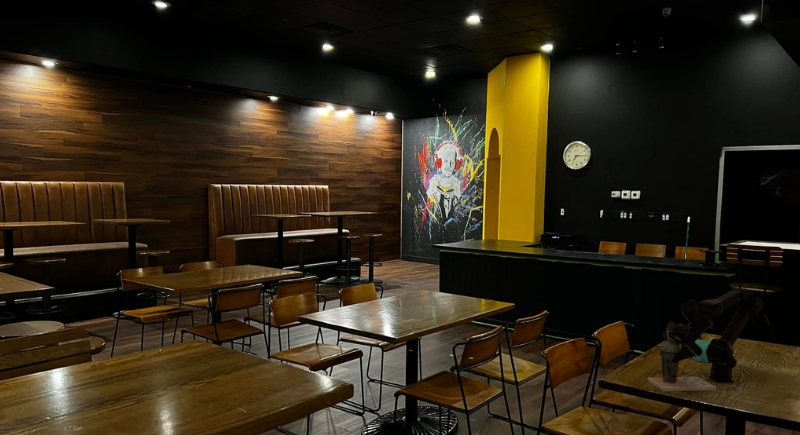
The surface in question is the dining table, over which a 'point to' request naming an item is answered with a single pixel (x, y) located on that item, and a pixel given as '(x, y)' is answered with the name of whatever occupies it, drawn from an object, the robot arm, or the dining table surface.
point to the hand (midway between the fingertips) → (666, 358)
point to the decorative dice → (703, 346)
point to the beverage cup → (669, 360)
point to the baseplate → (682, 384)
